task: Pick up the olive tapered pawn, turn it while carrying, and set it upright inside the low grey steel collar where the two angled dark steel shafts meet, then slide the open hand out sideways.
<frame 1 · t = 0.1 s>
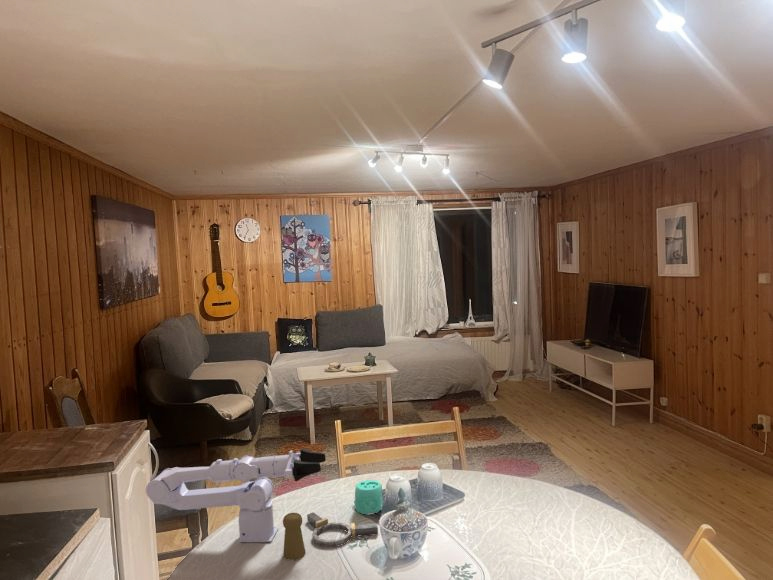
hand: (322, 462, 161), 22 cm above the table, tool horizontal, fingers open, 7 cm apart
coupling stand: (332, 536, 161), on the table
teal tapered cylinder: (369, 510, 177), on the table
olive tapered pawn: (294, 554, 153), on the table
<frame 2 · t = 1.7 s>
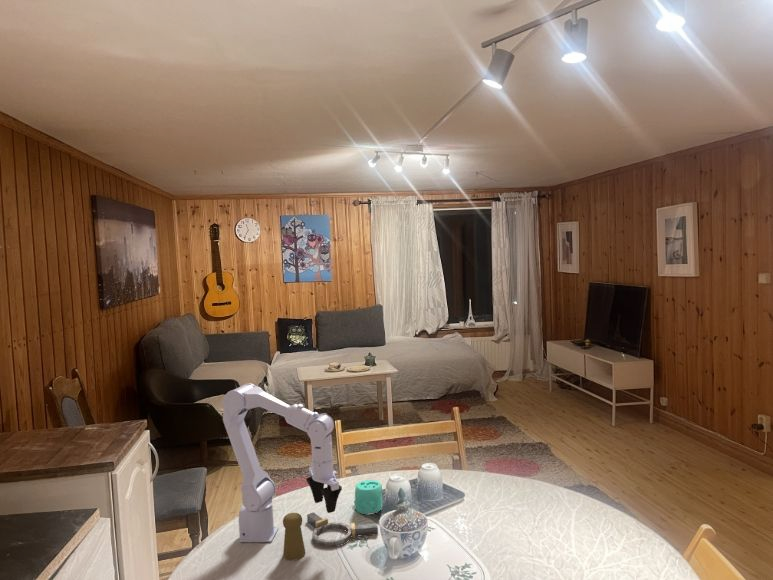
hand: (324, 506, 157), 10 cm above the table, tool pointing down, fingers open, 7 cm apart
nothing on the table moved.
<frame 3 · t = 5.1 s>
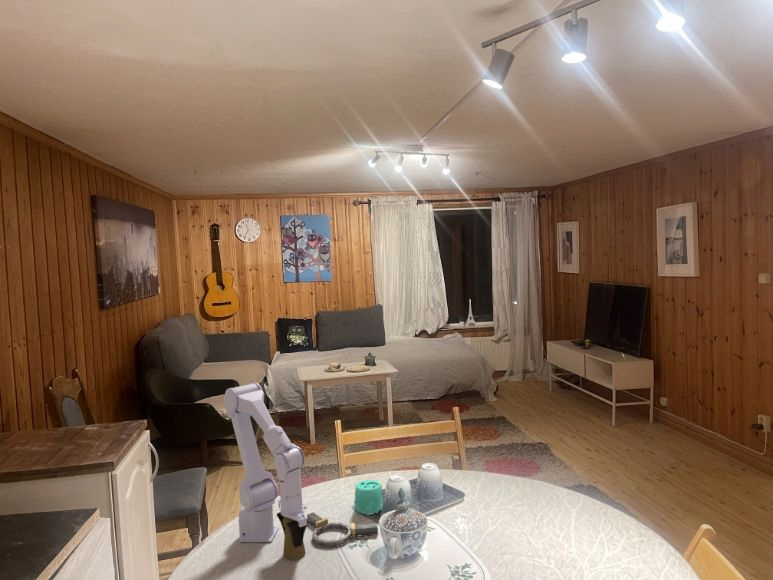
hand: (293, 541, 152), 3 cm above the table, tool pointing down, fingers closed on olive tapered pawn, 5 cm apart
olive tapered pawn: (294, 554, 153), on the table, touching gripper
everything else where it was.
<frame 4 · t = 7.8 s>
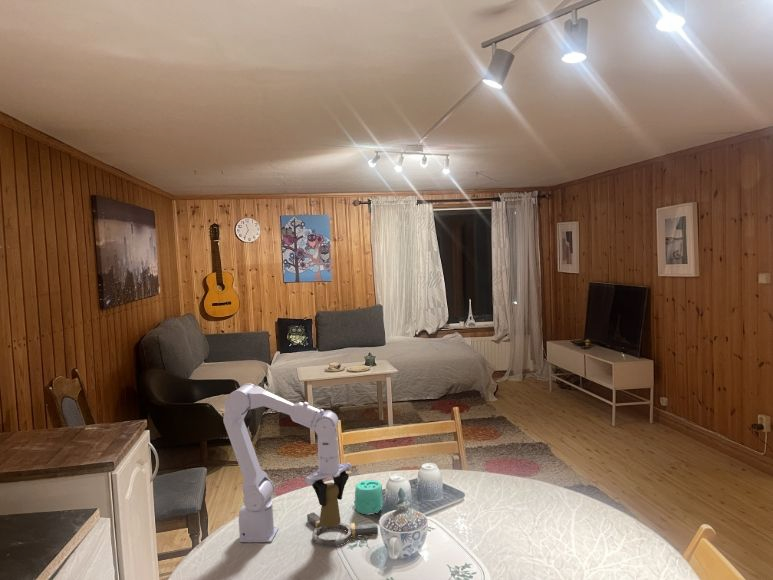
hand: (330, 501, 160), 10 cm above the table, tool pointing down, fingers closed on olive tapered pawn, 5 cm apart
olive tapered pawn: (330, 522, 161), point 4 cm above the table, touching gripper
everything else where it was.
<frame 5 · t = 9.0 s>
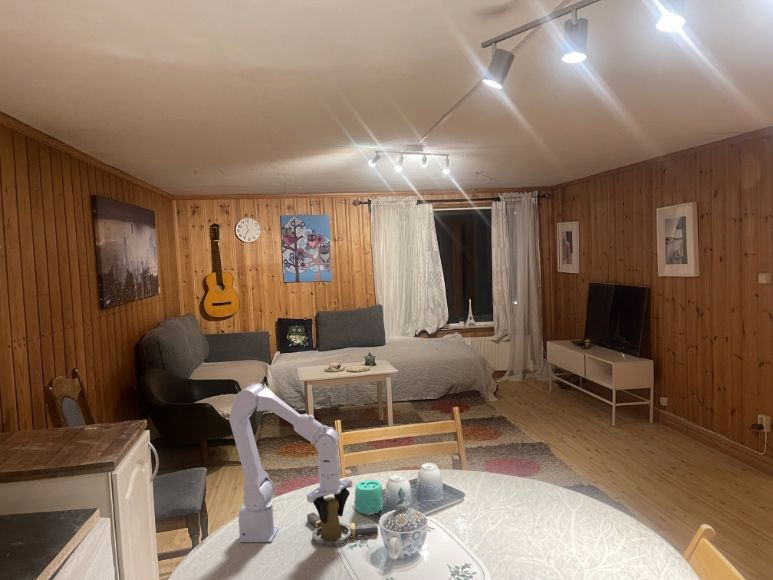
hand: (331, 518, 161), 5 cm above the table, tool pointing down, fingers closed on olive tapered pawn, 5 cm apart
olive tapered pawn: (331, 536, 161), resting in coupling stand, touching gripper
everything else where it was.
when the fingers open (4 cm above the table, at t = 10.5 s): olive tapered pawn stays where it is, resting in coupling stand.
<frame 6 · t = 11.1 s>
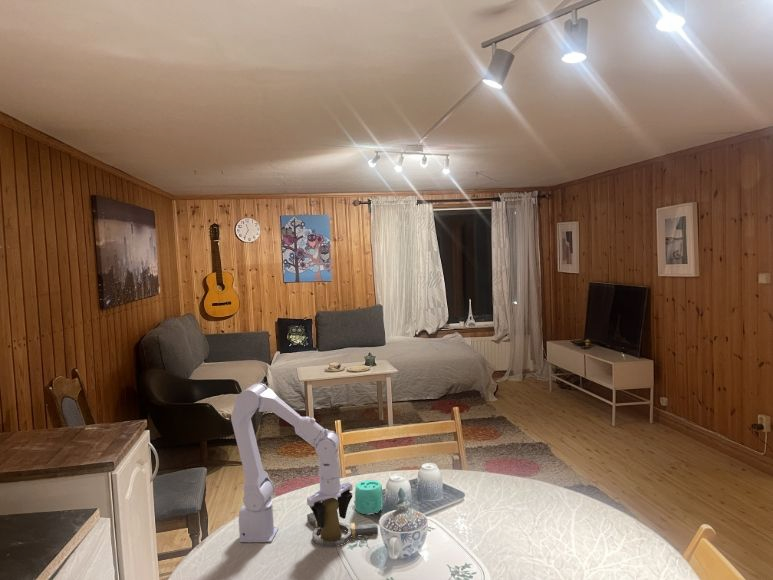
hand: (331, 522, 161), 4 cm above the table, tool pointing down, fingers open, 7 cm apart
olive tapered pawn: (331, 537, 161), resting in coupling stand
everything else where it was.
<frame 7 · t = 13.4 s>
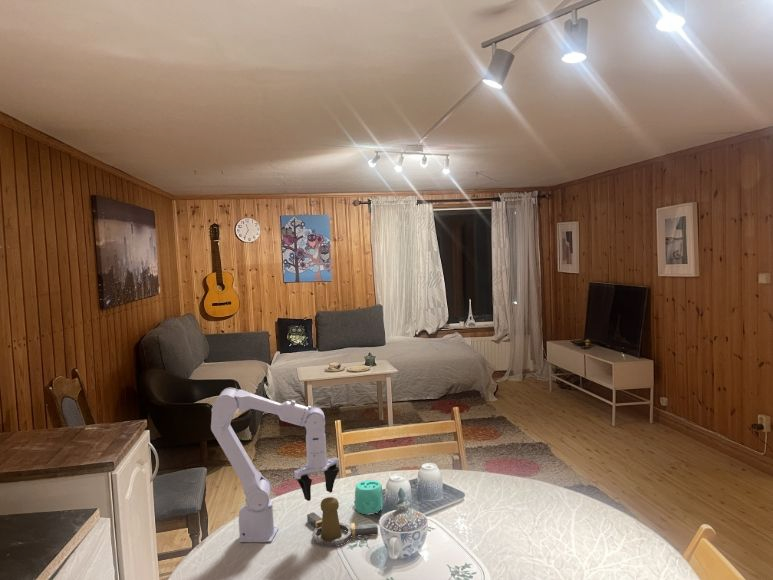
hand: (318, 495, 165), 10 cm above the table, tool pointing down, fingers open, 7 cm apart
nothing on the table moved.
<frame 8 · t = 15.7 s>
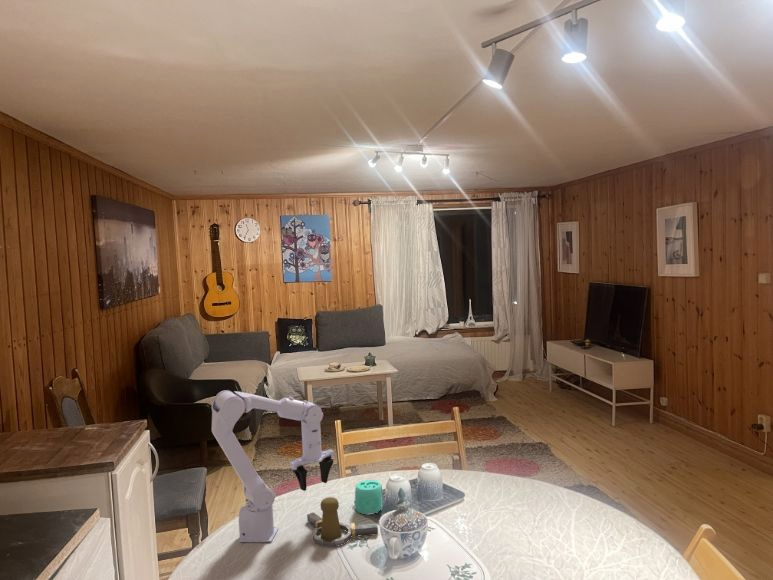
hand: (314, 485, 172), 10 cm above the table, tool pointing down, fingers open, 7 cm apart
nothing on the table moved.
at the end: olive tapered pawn 0.6 cm from the coupling stand (horizontally); olive tapered pawn tilted 0°; olive tapered pawn resting in coupling stand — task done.
